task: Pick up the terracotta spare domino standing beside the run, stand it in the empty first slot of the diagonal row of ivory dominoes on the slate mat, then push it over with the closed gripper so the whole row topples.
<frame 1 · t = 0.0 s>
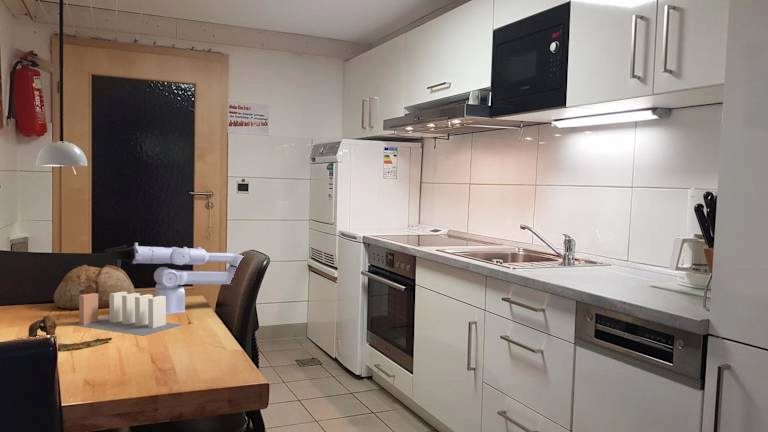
hand: (106, 253, 187), 22 cm above the table, tool horizontal, fingers open, 7 cm apart
domino 3: (131, 322, 182), resting on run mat
spare domino: (88, 322, 180), resting on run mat
domino 5: (157, 325, 178), resting on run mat
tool: (64, 349, 154), on the table
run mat: (131, 323, 182), on the table
bread: (95, 305, 212), on the table
domino 4: (143, 324, 180), resting on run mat
domino 2: (118, 320, 184), resting on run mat
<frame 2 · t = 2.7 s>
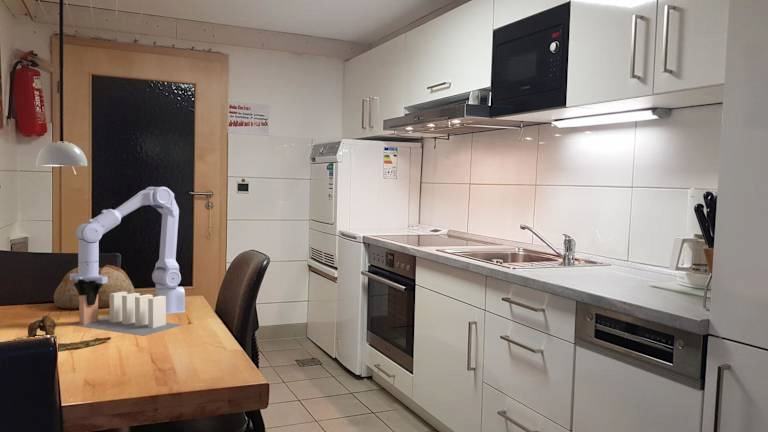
hand: (88, 304, 180), 6 cm above the table, tool pointing down, fingers closed on spare domino, 2 cm apart
spare domino: (88, 322, 180), resting on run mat, touching gripper
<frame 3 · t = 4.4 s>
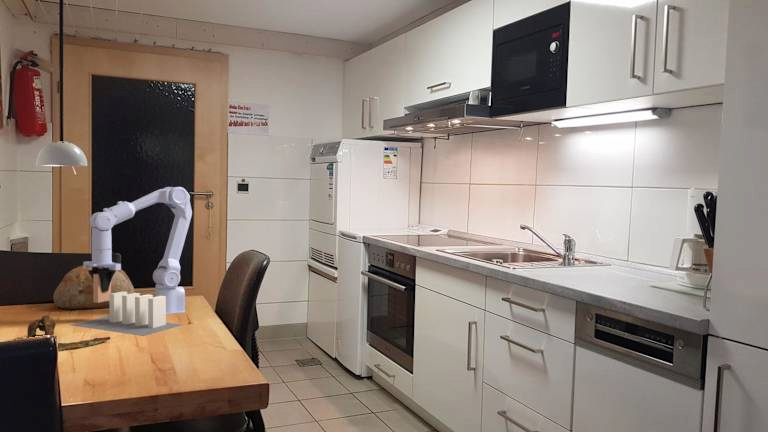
hand: (102, 291, 185), 10 cm above the table, tool pointing down, fingers closed on spare domino
spare domino: (102, 301, 185), point 7 cm above the table, touching gripper
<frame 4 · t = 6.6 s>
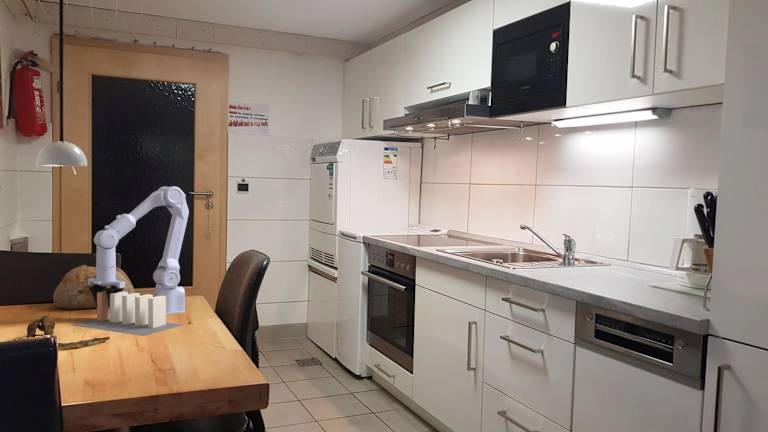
hand: (106, 308, 186), 4 cm above the table, tool pointing down, fingers open, 5 cm apart
spare domino: (106, 318, 186), resting on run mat
domino 2: (118, 320, 184), resting on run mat, touching gripper
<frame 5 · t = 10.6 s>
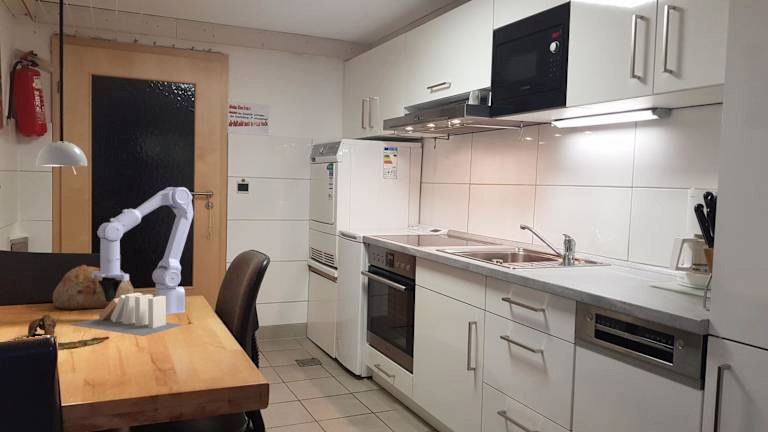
hand: (110, 301, 185), 6 cm above the table, tool pointing down, fingers closed
domino 3: (131, 321, 182), point 1 cm above the table, tilted 8°, touching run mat
spare domino: (107, 316, 186), point 1 cm above the table, tilted 48°, touching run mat
domino 2: (119, 319, 184), point 1 cm above the table, tilted 29°, touching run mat
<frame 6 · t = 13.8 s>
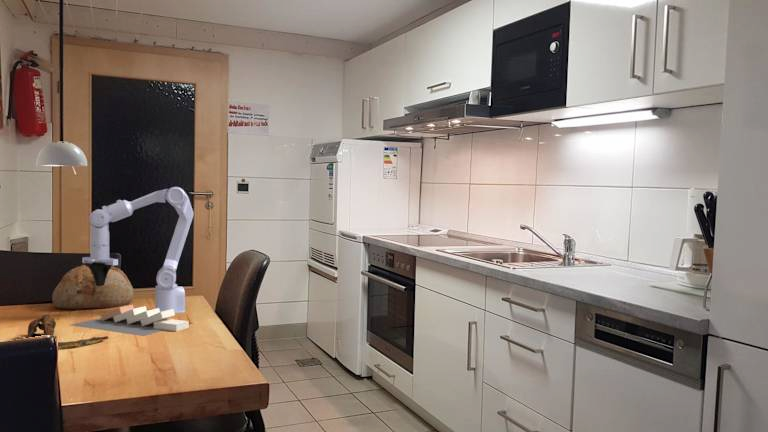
hand: (100, 285, 192), 10 cm above the table, tool pointing down, fingers closed
domino 3: (133, 319, 182), point 1 cm above the table, tilted 70°, touching domino 2, domino 4, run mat
spare domino: (108, 316, 186), point 1 cm above the table, tilted 69°, touching domino 2, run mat
domino 5: (160, 323, 177), point 1 cm above the table, tilted 90°, touching domino 4, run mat
domino 4: (147, 321, 179), point 1 cm above the table, tilted 68°, touching domino 3, domino 5, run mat
domino 2: (120, 318, 184), point 1 cm above the table, tilted 69°, touching domino 3, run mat, spare domino
at the end: domino 5 tilted 90°; spare domino tilted 69°; spare domino 0.9 cm from the target spot on the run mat, point 1.3 cm above the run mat's base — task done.
